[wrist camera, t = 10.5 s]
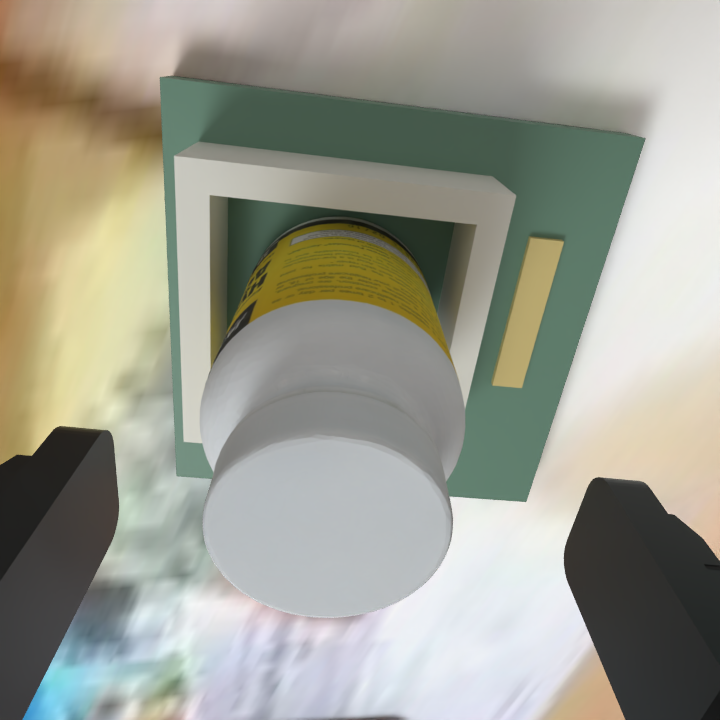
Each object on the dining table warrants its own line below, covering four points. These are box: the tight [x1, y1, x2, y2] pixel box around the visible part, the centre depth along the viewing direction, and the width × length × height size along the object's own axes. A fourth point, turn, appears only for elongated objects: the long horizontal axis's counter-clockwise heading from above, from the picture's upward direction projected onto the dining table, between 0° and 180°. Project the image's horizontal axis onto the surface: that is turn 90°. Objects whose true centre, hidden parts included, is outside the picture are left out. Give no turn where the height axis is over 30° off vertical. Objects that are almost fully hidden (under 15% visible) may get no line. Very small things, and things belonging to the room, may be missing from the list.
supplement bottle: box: [200, 217, 465, 618], centre depth 13 cm, size 5×5×10 cm
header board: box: [160, 76, 646, 502], centre depth 18 cm, size 13×13×4 cm
